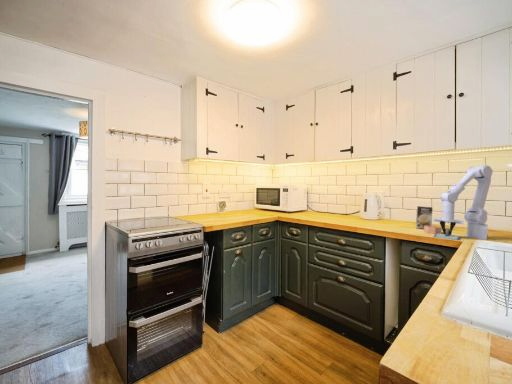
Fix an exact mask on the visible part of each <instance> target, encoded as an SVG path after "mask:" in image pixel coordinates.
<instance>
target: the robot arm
mask: <svg viewBox="0 0 512 384" xmlns="http://www.w3.org/2000/svg"><path fill="white" fill-rule="evenodd" d="M493 171H494V170H493V169H492V168H491V166H490V165H488V164H487V165H478V166H477V165H475V166H474V165H473V166H470V167H469V168H468V169H467V170H466V173H465V174H464V175H463V177H462V178H461V179H460V180H459V182H456V183H453V184H452V186H451V187H450V188H449V189H448V190H446V192H443V193H442V194H441V195H440V197H439V198H440V200H441V204H442V208H441V209H442V212H441V213H442V214H441V218H440V217H439V218H437V217H432V221H433V222H439V225H440V227H442V228H441V231H442V234H445V229H446V223H448V224H449V223H450V224H449V229H450V235H452V232H453V230H454V228H455V227H456V225H457V224H458V225H459V224H461V225H464V220H465V221H466V223H467V225H466V227H467V228H466V235H465V238H470V239H480V240H488V236H489V234H488V224H486V223H487V221H488V211H486V210H485V209H484V208H485V205H486V201H487V197H488V193H489V189H490V187H491V186H490V185H491V182H492V175H493ZM473 179H474V180H476V182H477V186H476V191H475V194H474V197H473V201H472V205H471V207H469V208H467V211H466V212H465V213H464V217H463V219H464V220H462V219H455V207H456V205H455V204H456V203H455V202H457V201H458V198H459V195H460V194H461V193H462V192H464V191H465V189H466V188H465V186H466V185H468V183H470V182H471V181H472V180H473Z"/></svg>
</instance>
